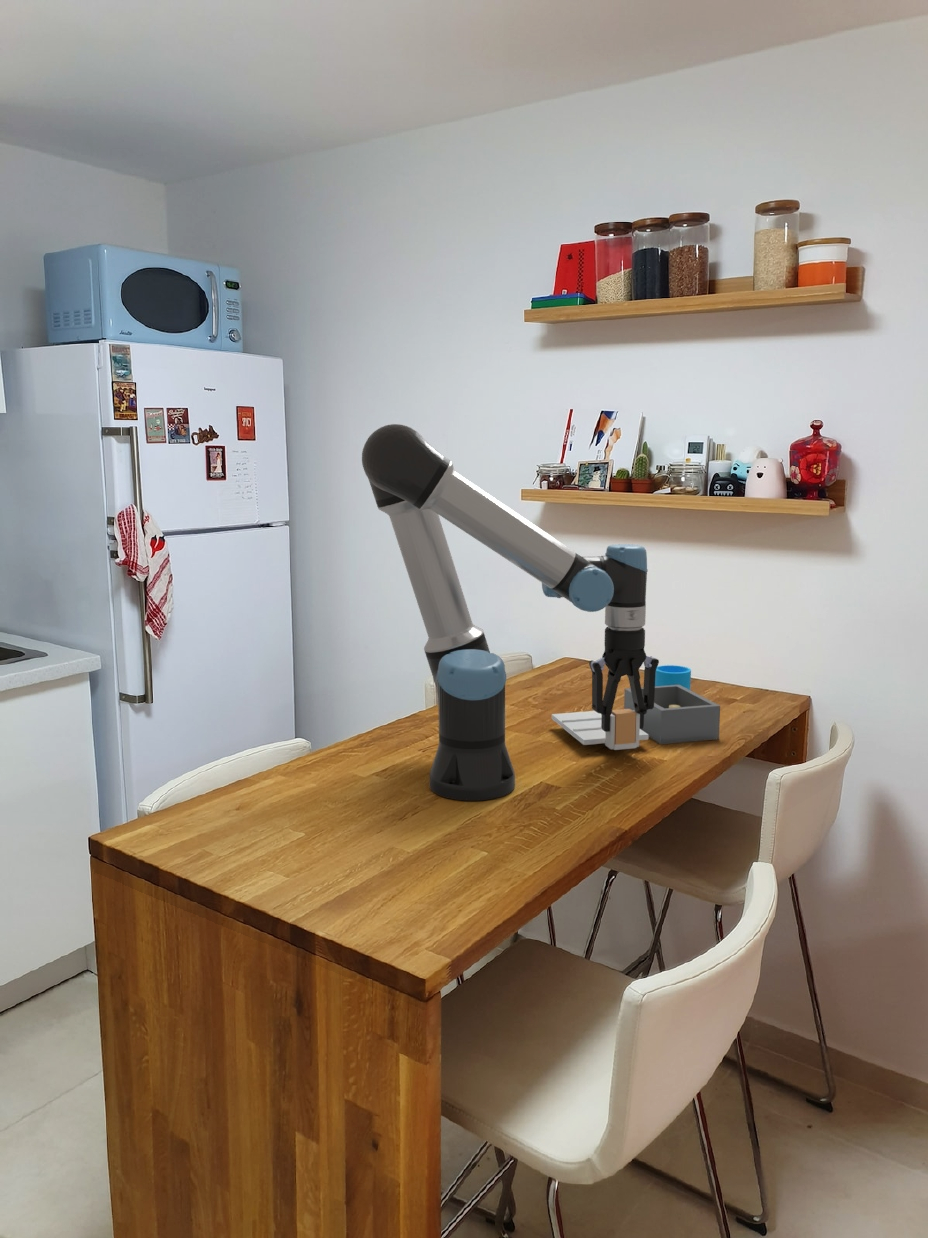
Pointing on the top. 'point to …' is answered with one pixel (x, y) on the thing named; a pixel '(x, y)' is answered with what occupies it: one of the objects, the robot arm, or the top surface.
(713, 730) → the tub
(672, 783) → the top surface
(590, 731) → the lid
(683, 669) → the mug
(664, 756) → the top surface
